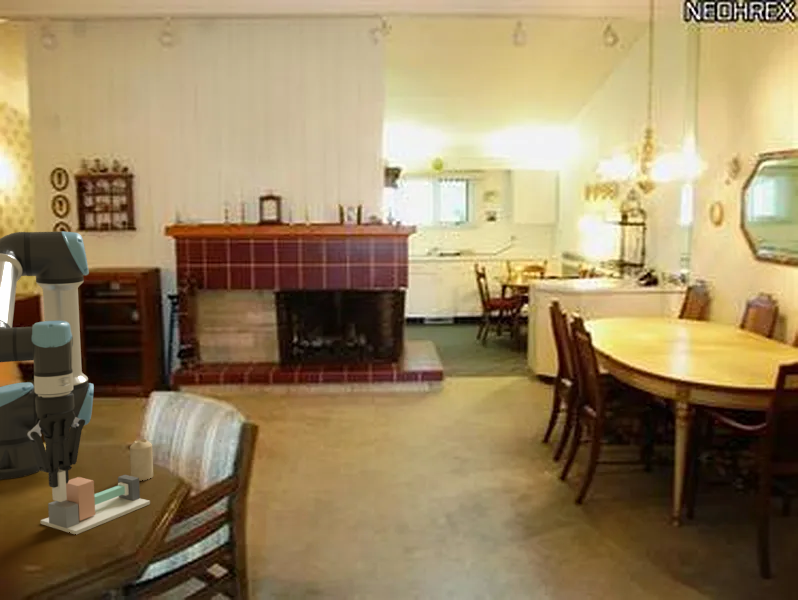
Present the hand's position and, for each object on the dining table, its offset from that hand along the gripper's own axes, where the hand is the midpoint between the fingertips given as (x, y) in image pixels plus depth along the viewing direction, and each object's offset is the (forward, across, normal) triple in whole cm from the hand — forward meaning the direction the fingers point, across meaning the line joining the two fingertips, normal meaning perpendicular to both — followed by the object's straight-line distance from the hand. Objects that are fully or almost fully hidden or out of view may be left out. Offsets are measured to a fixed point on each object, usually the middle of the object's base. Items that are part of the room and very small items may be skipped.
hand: (59, 499), depth 157 cm
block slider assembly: (+6, +9, 0) cm, 11 cm away
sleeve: (+5, +5, 0) cm, 7 cm away
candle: (+7, +31, +11) cm, 34 cm away
